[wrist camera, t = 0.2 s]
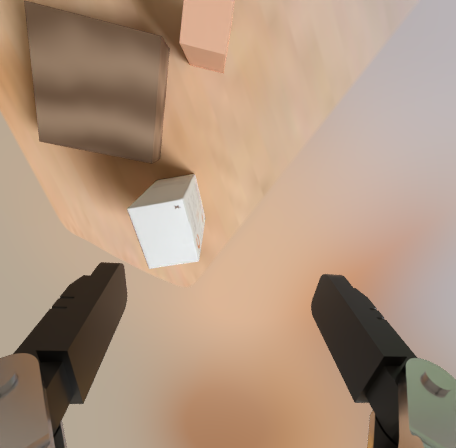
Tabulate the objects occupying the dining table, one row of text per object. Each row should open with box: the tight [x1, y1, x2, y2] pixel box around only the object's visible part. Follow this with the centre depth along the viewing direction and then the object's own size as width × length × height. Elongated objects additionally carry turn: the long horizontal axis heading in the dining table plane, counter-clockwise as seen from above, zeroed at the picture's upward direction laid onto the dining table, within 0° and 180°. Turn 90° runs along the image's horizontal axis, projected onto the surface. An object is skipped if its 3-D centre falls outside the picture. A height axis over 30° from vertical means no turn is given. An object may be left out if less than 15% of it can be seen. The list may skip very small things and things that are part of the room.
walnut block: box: [24, 1, 170, 163], centre depth 30 cm, size 14×14×5 cm
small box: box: [127, 174, 205, 269], centre depth 32 cm, size 8×6×13 cm
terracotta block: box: [179, 0, 235, 73], centre depth 26 cm, size 4×4×9 cm
